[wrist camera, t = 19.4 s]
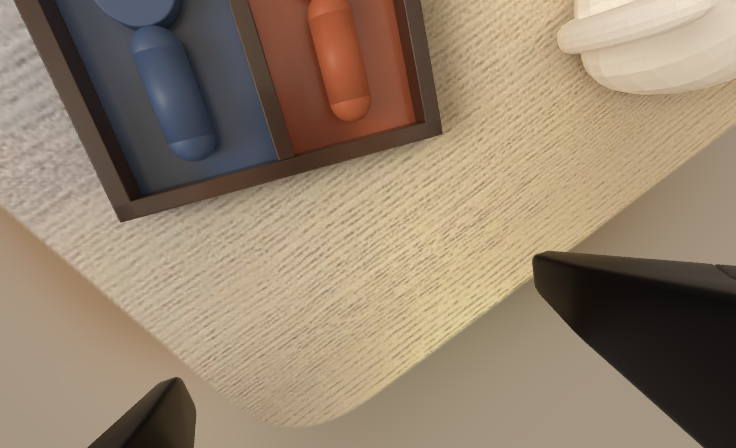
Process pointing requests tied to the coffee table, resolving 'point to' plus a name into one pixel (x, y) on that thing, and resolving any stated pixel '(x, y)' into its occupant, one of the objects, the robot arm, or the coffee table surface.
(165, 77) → the blue spoon
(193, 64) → the cutlery tray
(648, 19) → the cat figurine
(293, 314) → the coffee table surface
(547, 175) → the coffee table surface
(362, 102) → the terracotta spoon
